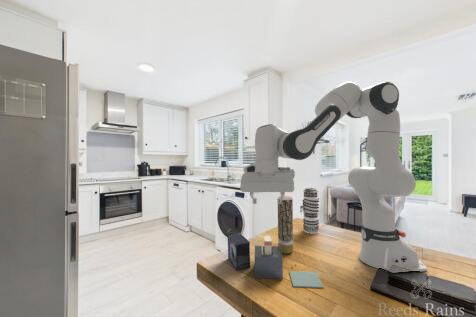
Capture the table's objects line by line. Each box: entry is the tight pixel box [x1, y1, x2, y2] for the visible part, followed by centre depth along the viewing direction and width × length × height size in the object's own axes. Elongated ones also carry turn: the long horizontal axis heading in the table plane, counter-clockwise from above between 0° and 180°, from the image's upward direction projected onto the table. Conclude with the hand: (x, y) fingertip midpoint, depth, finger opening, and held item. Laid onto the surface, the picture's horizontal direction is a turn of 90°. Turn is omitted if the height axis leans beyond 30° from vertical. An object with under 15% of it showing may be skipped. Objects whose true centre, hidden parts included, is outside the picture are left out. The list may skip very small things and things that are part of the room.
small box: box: [227, 232, 251, 272], centre depth 87 cm, size 11×6×10 cm, turn 22°
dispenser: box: [254, 245, 284, 280], centre depth 79 cm, size 10×9×8 cm
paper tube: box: [277, 195, 294, 255], centre depth 96 cm, size 7×7×25 cm
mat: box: [288, 270, 324, 289], centre depth 74 cm, size 10×9×1 cm
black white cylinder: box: [302, 187, 320, 235], centre depth 121 cm, size 9×9×25 cm
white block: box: [263, 235, 273, 255], centre depth 79 cm, size 3×5×10 cm, turn 175°
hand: (267, 203), depth 79 cm, fingers open, 8 cm apart
